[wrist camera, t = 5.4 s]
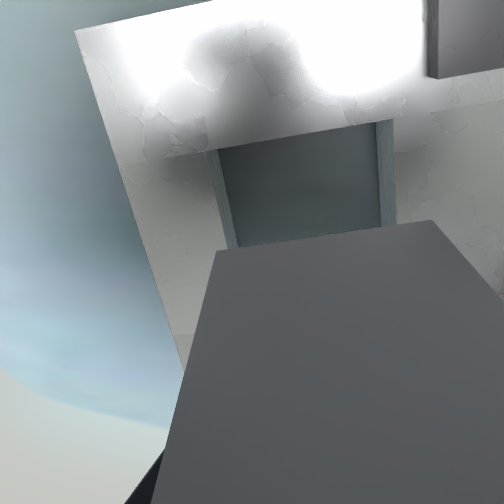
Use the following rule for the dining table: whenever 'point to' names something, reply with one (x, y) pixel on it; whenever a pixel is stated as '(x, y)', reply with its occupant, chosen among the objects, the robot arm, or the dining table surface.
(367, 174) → the dining table surface
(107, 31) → the socket plate
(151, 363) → the dining table surface
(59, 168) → the dining table surface
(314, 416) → the plug
